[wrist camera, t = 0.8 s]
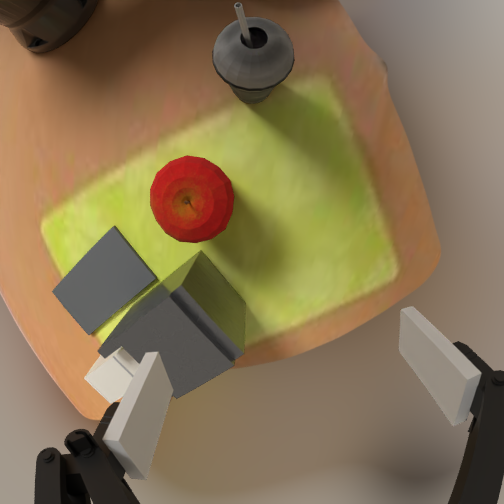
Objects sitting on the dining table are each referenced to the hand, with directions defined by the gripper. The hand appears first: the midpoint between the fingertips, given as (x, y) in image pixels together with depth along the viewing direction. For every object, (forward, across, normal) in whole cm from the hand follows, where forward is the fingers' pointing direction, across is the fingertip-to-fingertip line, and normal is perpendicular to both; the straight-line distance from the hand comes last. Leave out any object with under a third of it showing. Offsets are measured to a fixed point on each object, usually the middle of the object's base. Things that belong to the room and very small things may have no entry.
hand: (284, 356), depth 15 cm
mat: (+25, -24, -2) cm, 35 cm away
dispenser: (+25, -12, -6) cm, 28 cm away
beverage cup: (+25, +2, +20) cm, 32 cm away
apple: (+25, -6, +8) cm, 27 cm away
